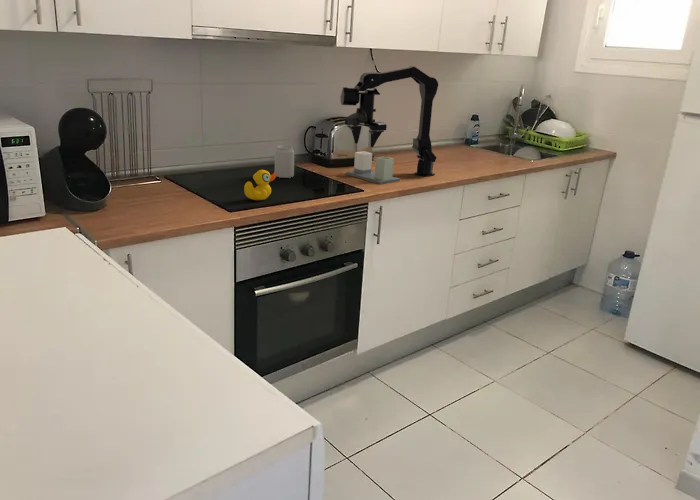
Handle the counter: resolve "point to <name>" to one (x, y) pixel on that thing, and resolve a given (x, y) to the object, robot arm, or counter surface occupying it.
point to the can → (284, 162)
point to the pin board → (379, 172)
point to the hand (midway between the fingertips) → (364, 145)
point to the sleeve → (363, 162)
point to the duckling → (259, 185)
